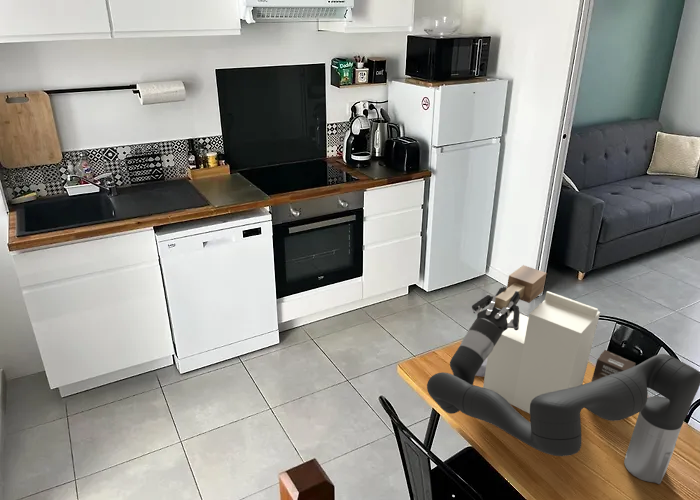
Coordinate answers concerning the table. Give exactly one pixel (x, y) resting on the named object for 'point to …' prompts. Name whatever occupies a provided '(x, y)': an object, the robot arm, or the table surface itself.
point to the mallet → (522, 286)
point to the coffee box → (610, 365)
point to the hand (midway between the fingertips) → (511, 290)
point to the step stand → (542, 351)
